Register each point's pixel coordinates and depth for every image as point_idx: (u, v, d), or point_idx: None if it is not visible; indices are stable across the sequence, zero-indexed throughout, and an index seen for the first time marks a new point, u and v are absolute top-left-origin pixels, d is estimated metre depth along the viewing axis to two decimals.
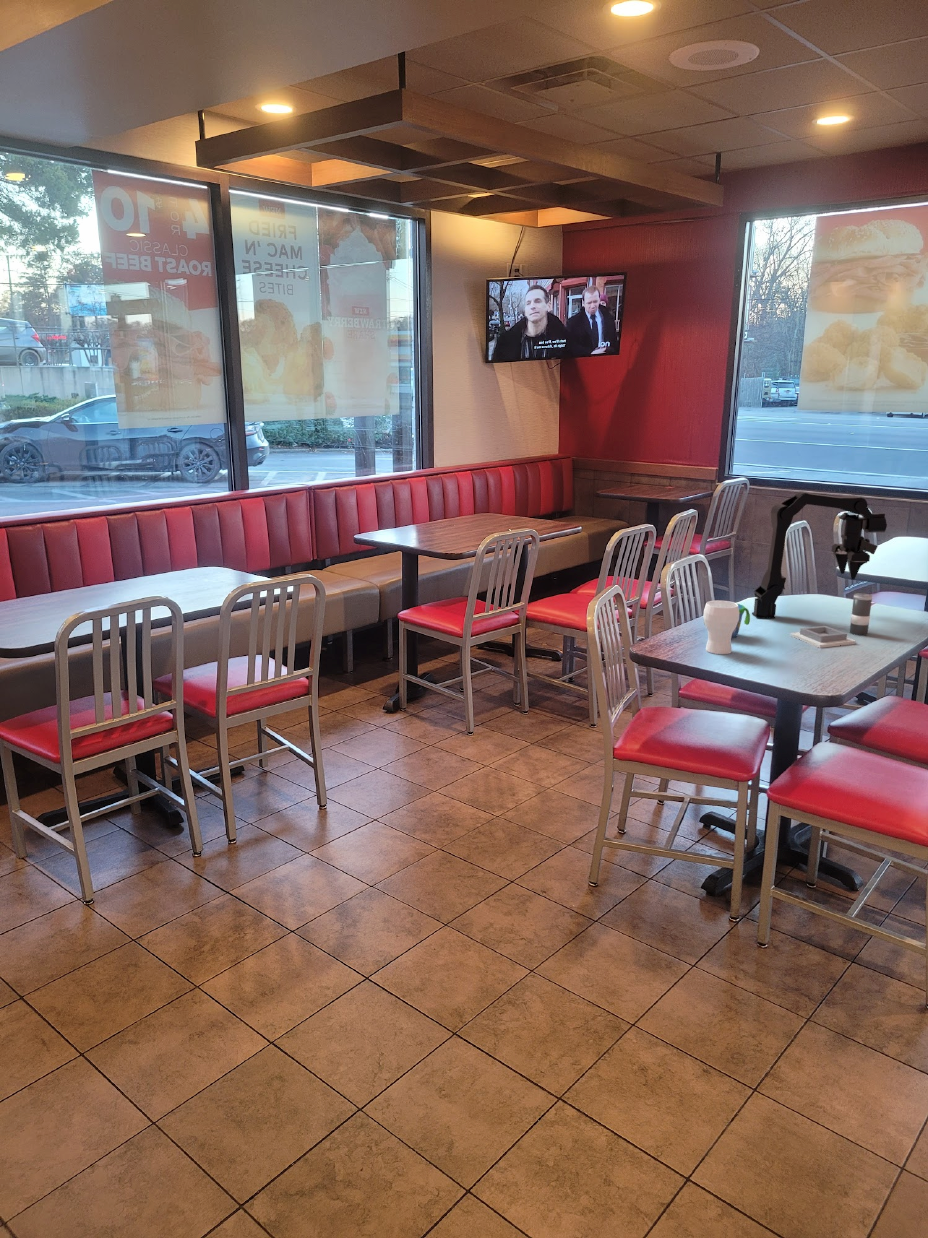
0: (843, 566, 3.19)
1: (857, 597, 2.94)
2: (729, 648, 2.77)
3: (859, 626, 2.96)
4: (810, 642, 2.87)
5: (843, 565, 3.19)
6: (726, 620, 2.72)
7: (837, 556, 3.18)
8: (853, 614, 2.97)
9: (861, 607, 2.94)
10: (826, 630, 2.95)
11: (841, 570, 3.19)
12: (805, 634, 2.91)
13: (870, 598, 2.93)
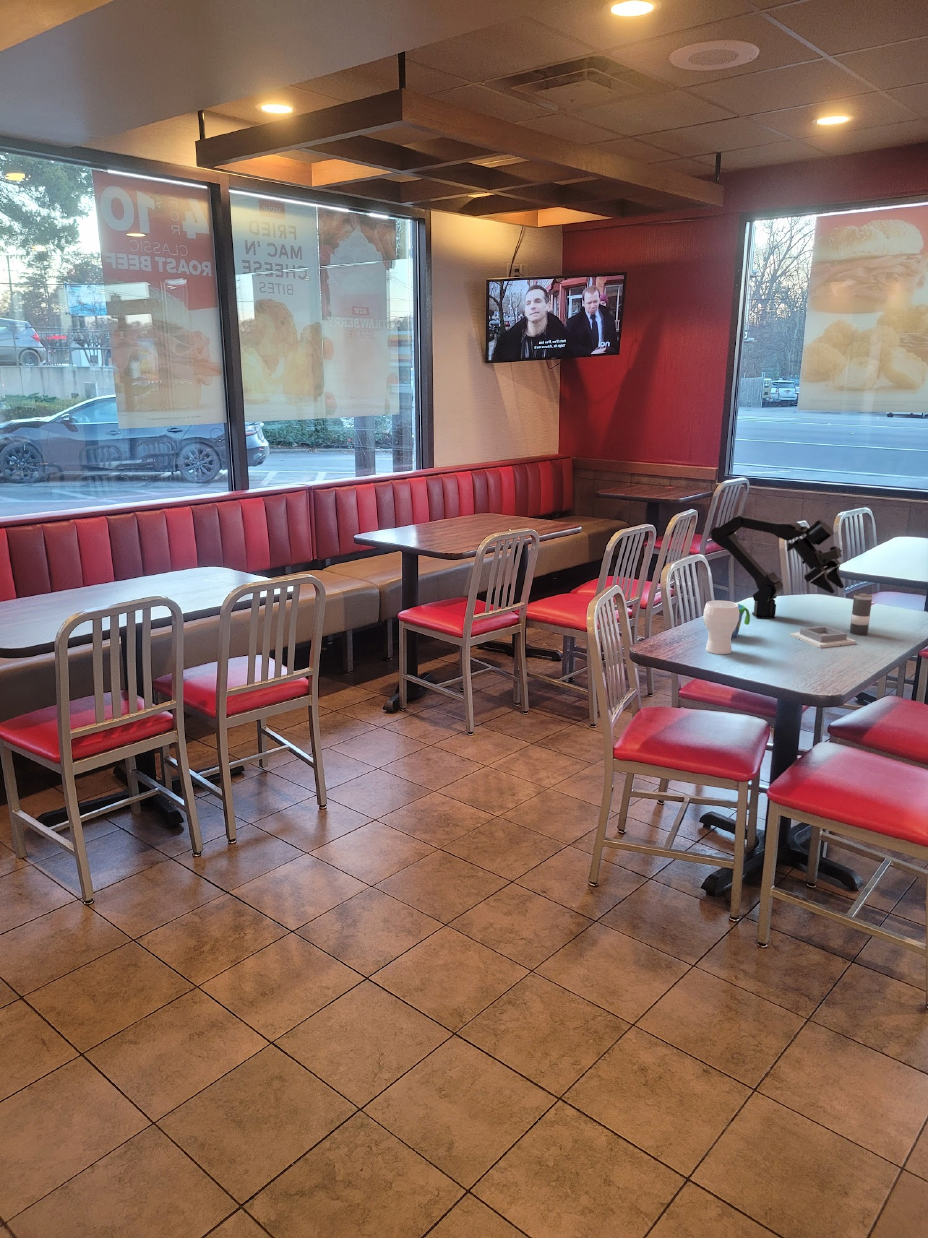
0: (838, 581, 3.04)
1: (857, 597, 2.94)
2: (729, 648, 2.77)
3: (859, 626, 2.96)
4: (810, 642, 2.87)
5: (837, 580, 3.04)
6: (726, 620, 2.72)
7: None
8: (853, 614, 2.97)
9: (861, 607, 2.94)
10: (826, 630, 2.95)
11: (839, 585, 3.04)
12: (805, 634, 2.91)
13: (870, 598, 2.93)
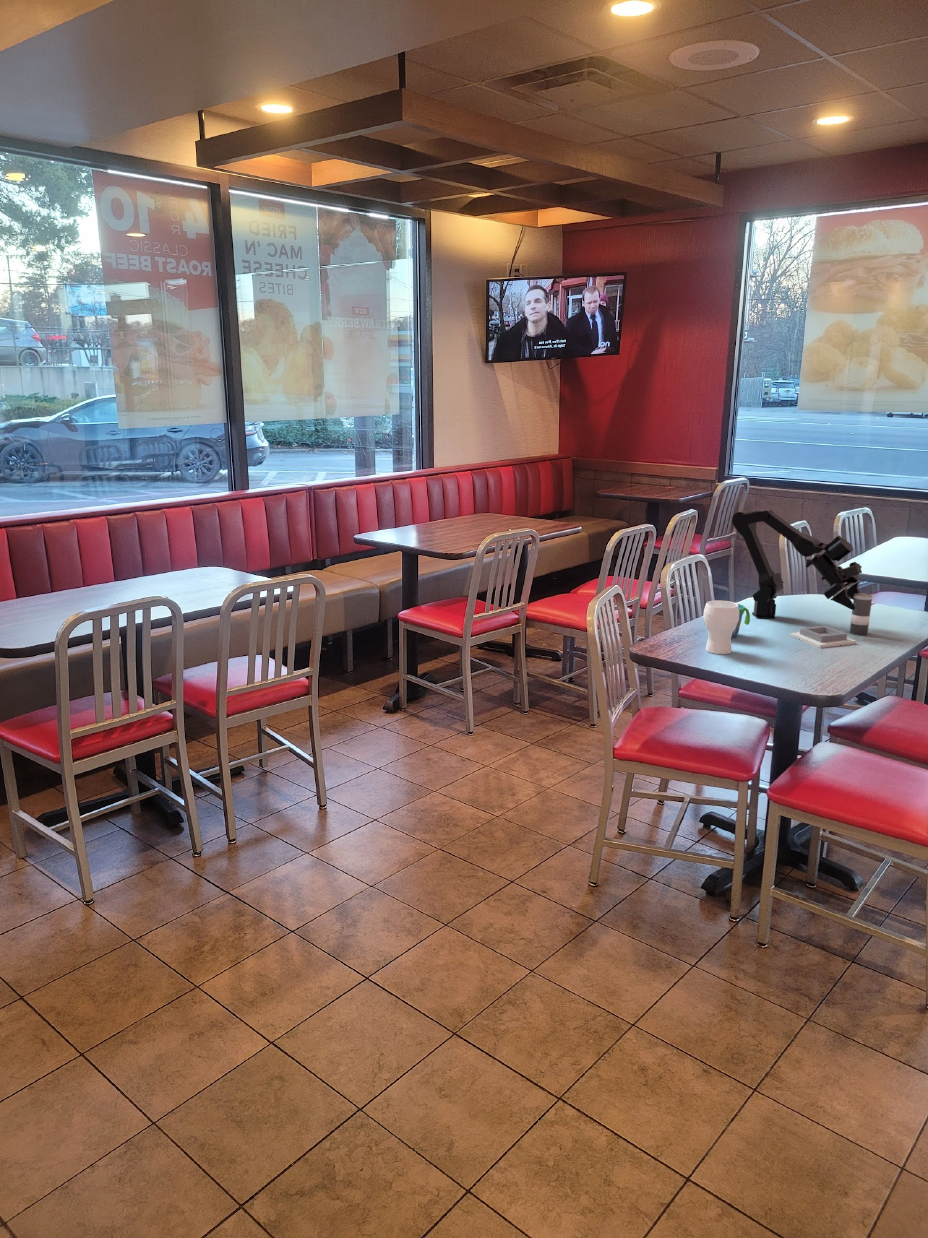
0: None
1: (857, 597, 2.94)
2: (729, 648, 2.77)
3: (859, 626, 2.96)
4: (810, 642, 2.87)
5: None
6: (726, 620, 2.72)
7: None
8: (853, 614, 2.97)
9: (861, 607, 2.94)
10: (826, 630, 2.95)
11: None
12: (805, 634, 2.91)
13: (870, 598, 2.93)
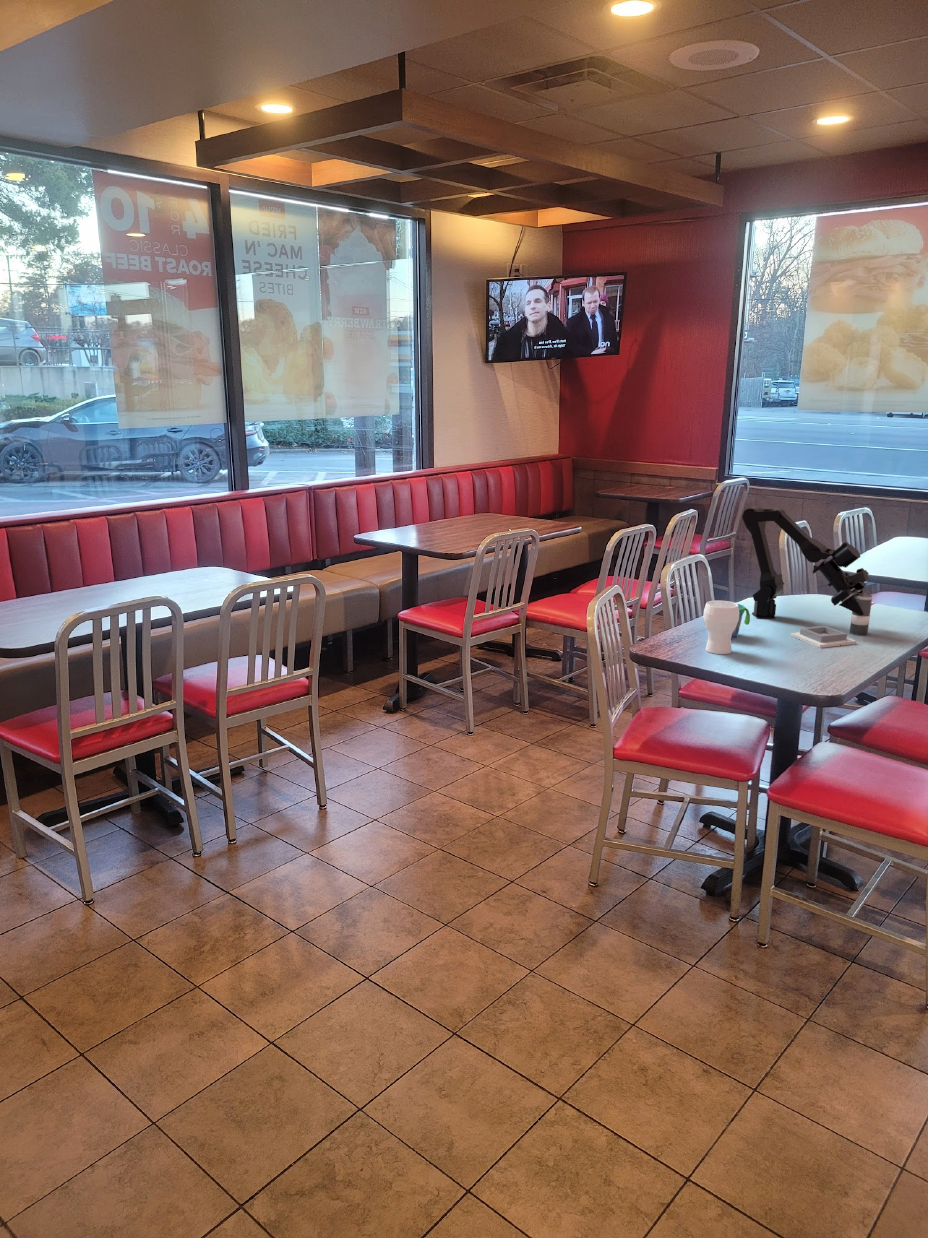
0: None
1: (857, 597, 2.94)
2: (729, 648, 2.77)
3: (859, 626, 2.96)
4: (810, 642, 2.87)
5: None
6: (726, 620, 2.72)
7: None
8: (853, 614, 2.97)
9: (861, 607, 2.94)
10: (826, 630, 2.95)
11: None
12: (805, 634, 2.91)
13: (870, 598, 2.93)
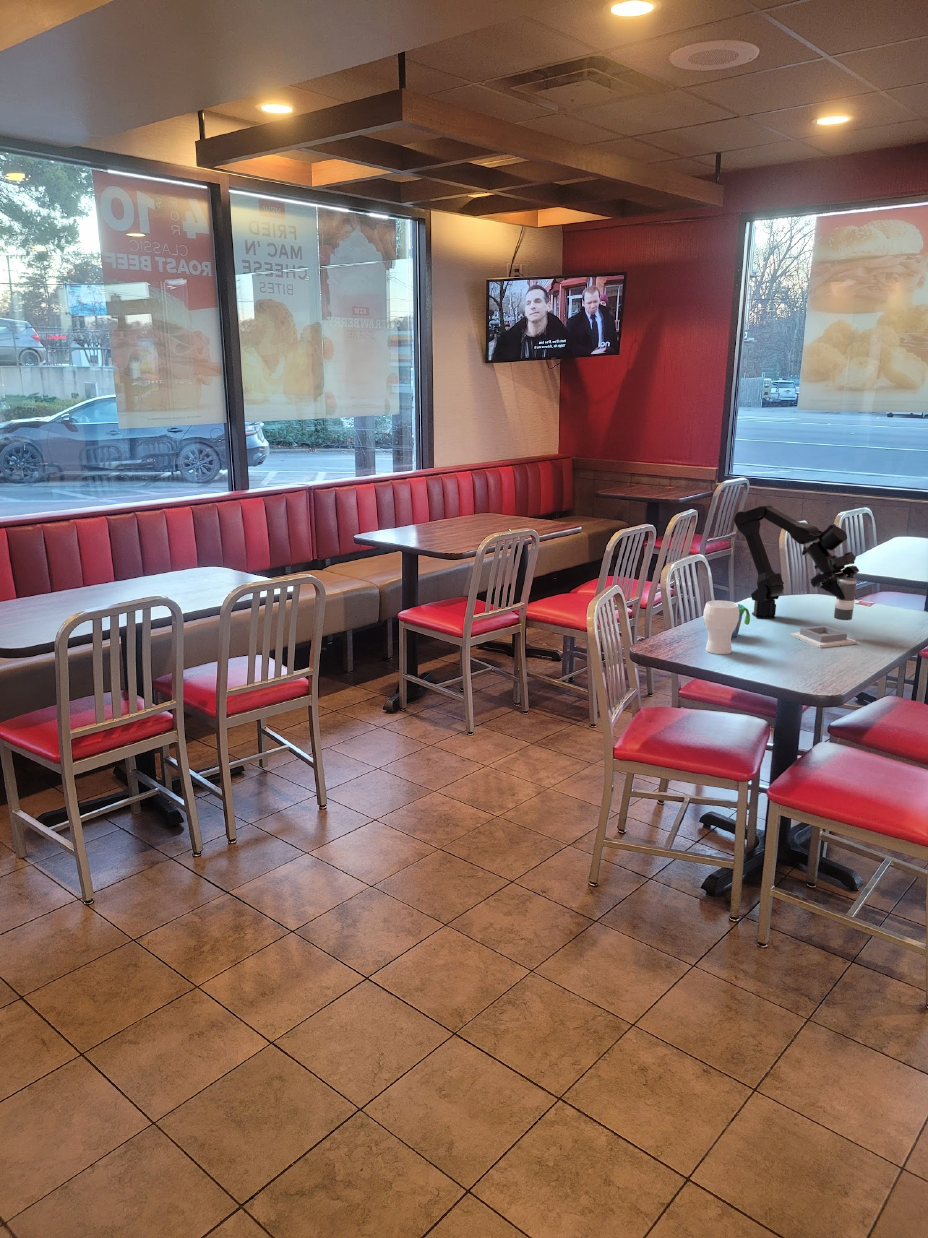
0: None
1: (839, 581, 2.89)
2: (729, 648, 2.77)
3: (841, 611, 2.90)
4: (810, 642, 2.87)
5: None
6: (726, 620, 2.72)
7: None
8: (836, 598, 2.92)
9: (843, 591, 2.89)
10: (826, 630, 2.95)
11: None
12: (805, 634, 2.91)
13: (853, 582, 2.87)
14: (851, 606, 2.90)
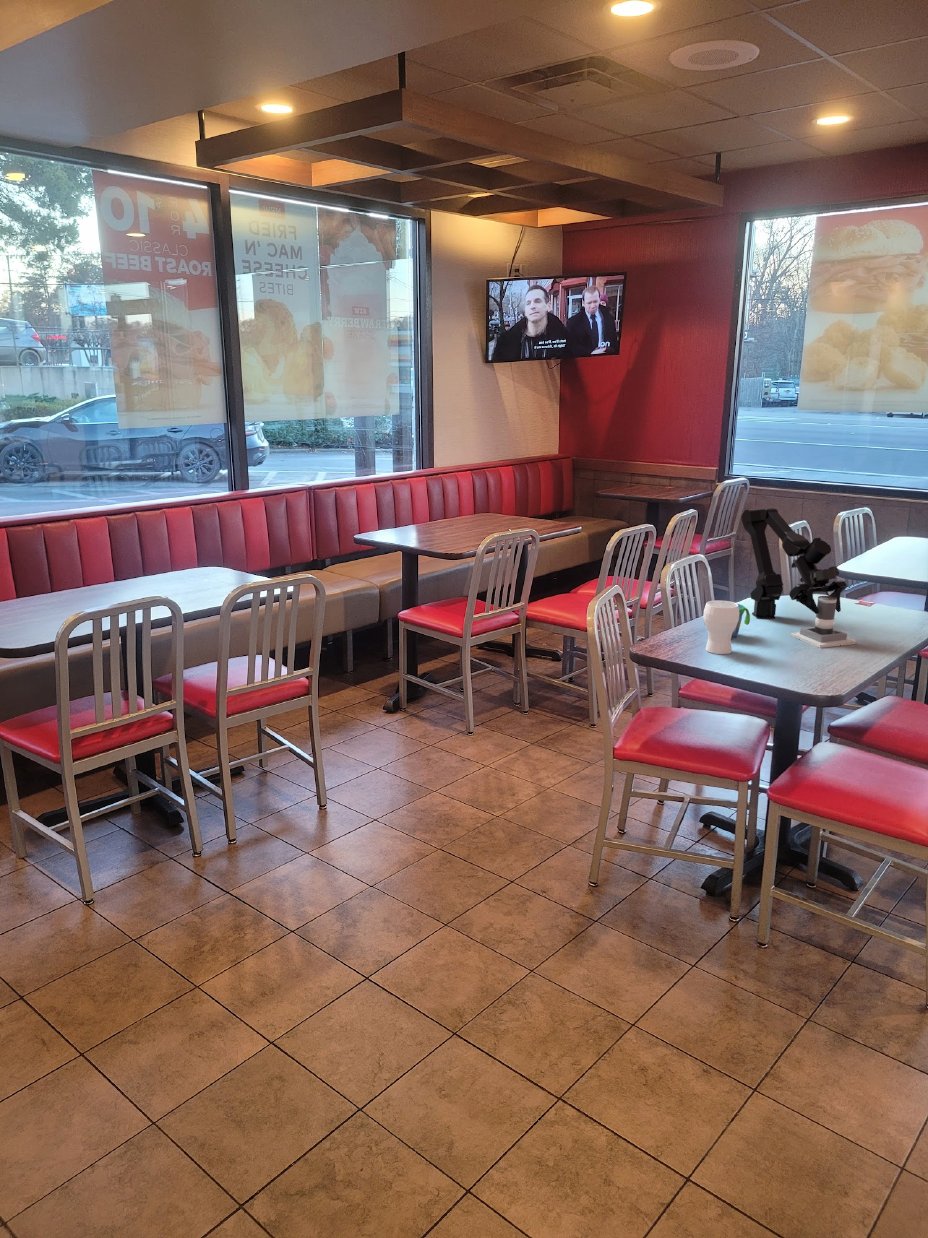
0: (836, 604, 2.90)
1: (818, 599, 2.88)
2: (729, 648, 2.77)
3: (818, 629, 2.89)
4: (810, 642, 2.87)
5: None
6: (726, 620, 2.72)
7: None
8: (816, 616, 2.90)
9: (820, 610, 2.87)
10: None
11: (836, 609, 2.90)
12: (805, 634, 2.91)
13: (830, 601, 2.85)
14: (829, 625, 2.87)
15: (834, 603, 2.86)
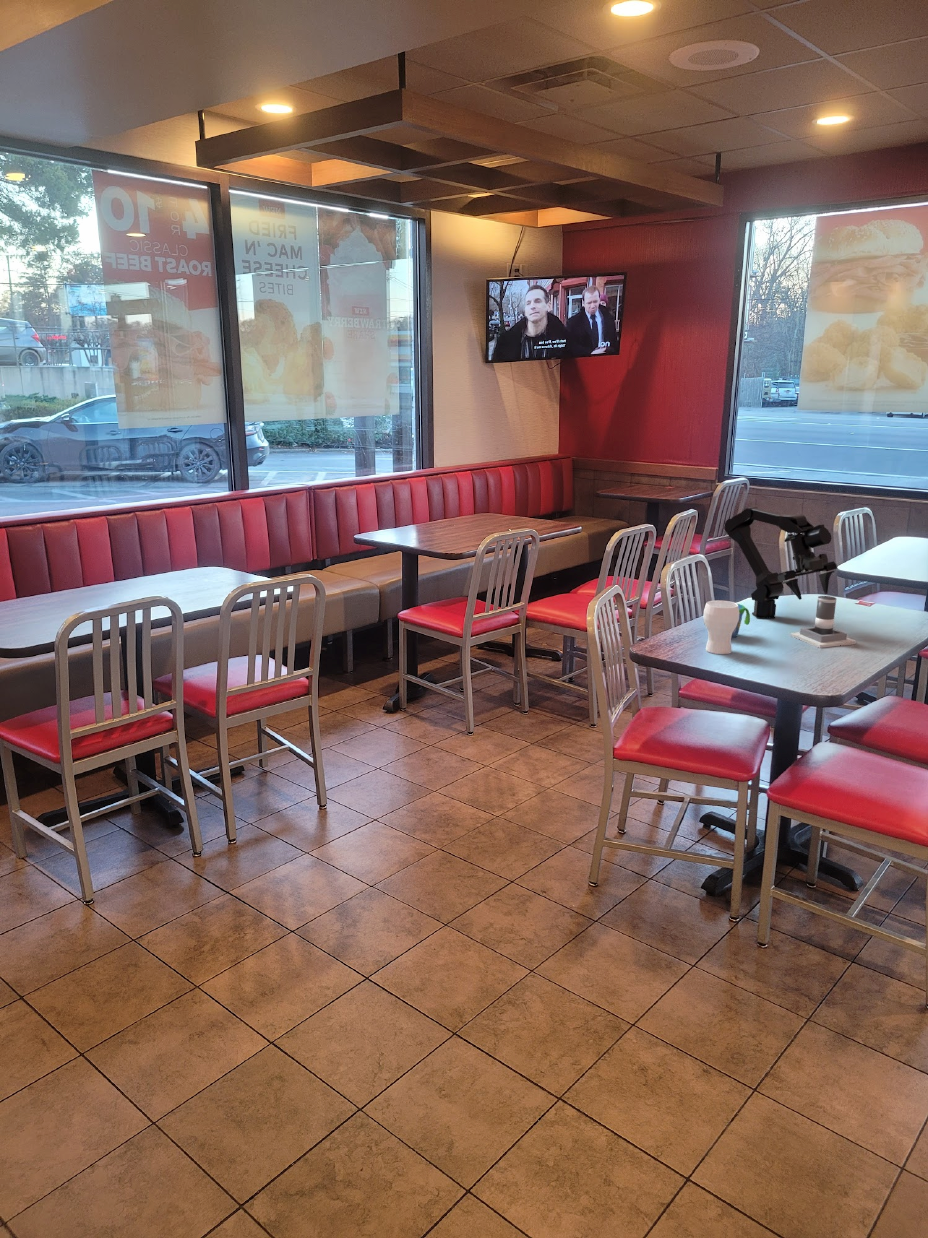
0: (824, 586, 3.01)
1: (818, 599, 2.88)
2: (729, 648, 2.77)
3: (818, 629, 2.89)
4: (810, 642, 2.87)
5: (824, 585, 3.01)
6: (726, 620, 2.72)
7: (819, 576, 3.04)
8: None
9: (820, 610, 2.87)
10: None
11: (824, 590, 3.02)
12: (805, 634, 2.91)
13: (830, 601, 2.85)
14: (829, 625, 2.87)
15: (834, 603, 2.86)
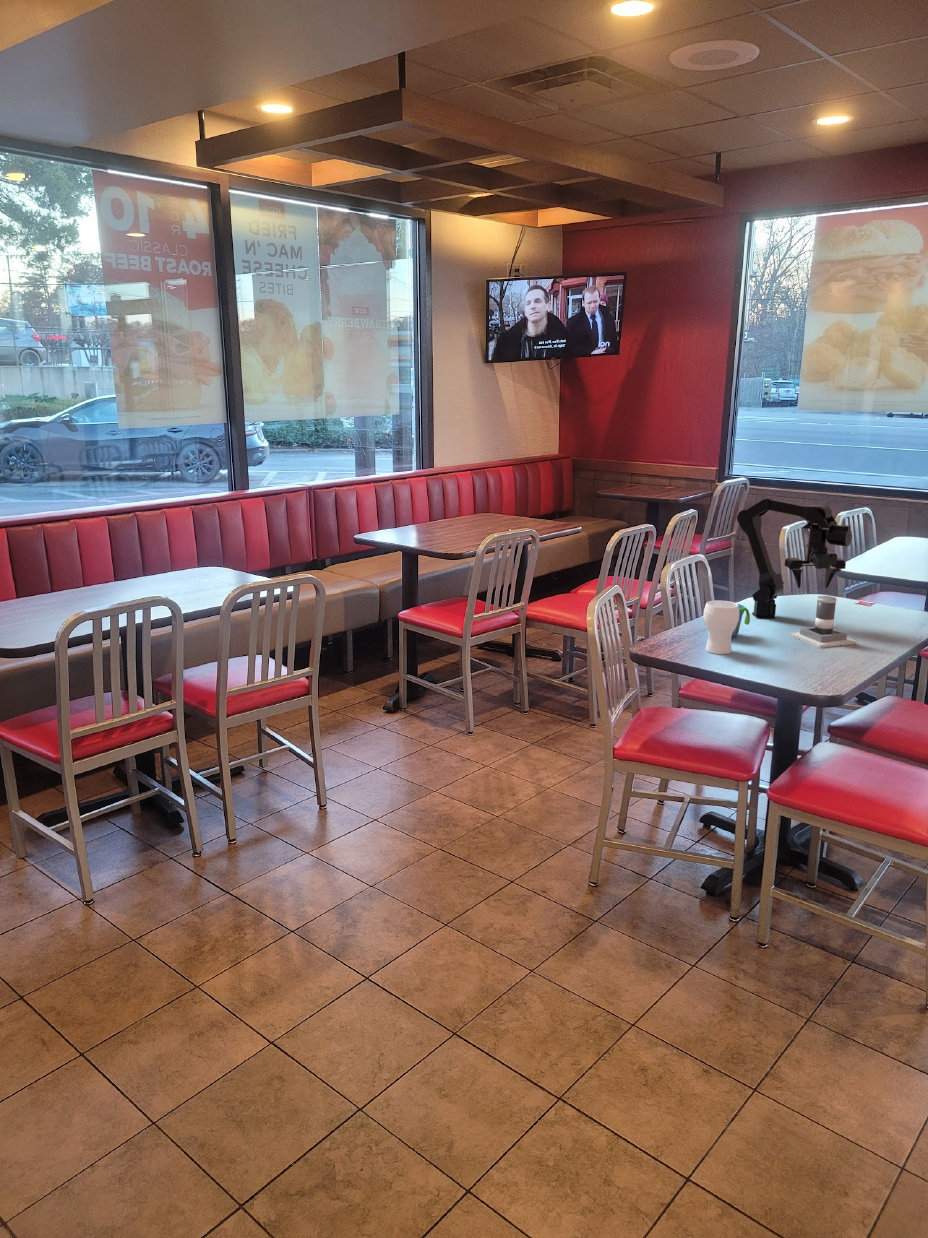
0: (827, 580, 3.04)
1: (818, 599, 2.88)
2: (729, 648, 2.77)
3: (818, 629, 2.89)
4: (810, 642, 2.87)
5: (827, 579, 3.04)
6: (726, 620, 2.72)
7: (826, 569, 3.06)
8: None
9: (820, 610, 2.87)
10: None
11: (825, 584, 3.05)
12: (805, 634, 2.91)
13: (830, 601, 2.85)
14: (829, 625, 2.87)
15: (834, 603, 2.86)
